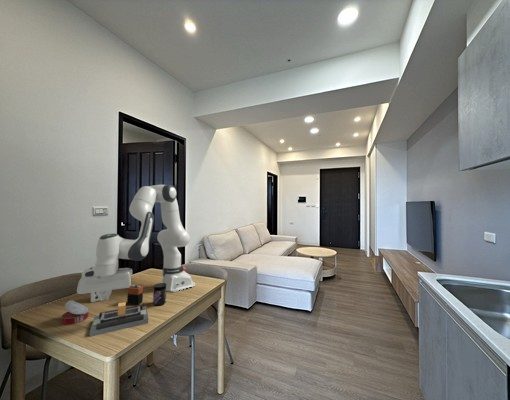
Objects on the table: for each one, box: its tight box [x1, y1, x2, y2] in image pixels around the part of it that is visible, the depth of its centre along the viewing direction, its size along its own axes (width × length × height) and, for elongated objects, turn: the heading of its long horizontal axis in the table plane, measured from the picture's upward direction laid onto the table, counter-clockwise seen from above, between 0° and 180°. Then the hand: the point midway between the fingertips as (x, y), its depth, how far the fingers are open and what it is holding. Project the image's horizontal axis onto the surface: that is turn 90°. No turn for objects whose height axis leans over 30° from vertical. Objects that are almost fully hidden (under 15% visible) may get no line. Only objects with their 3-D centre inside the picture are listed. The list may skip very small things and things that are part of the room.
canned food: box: [61, 300, 90, 326], centre depth 102 cm, size 11×10×10 cm
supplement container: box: [152, 282, 167, 307], centre depth 120 cm, size 7×7×10 cm
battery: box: [126, 284, 144, 306], centre depth 120 cm, size 4×7×10 cm, turn 83°
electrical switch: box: [89, 291, 111, 303], centre depth 124 cm, size 9×5×9 cm, turn 141°
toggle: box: [117, 301, 127, 316], centre depth 100 cm, size 3×4×6 cm
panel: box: [89, 304, 149, 337], centre depth 100 cm, size 22×14×4 cm, turn 121°
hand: (104, 300), depth 97 cm, fingers closed
